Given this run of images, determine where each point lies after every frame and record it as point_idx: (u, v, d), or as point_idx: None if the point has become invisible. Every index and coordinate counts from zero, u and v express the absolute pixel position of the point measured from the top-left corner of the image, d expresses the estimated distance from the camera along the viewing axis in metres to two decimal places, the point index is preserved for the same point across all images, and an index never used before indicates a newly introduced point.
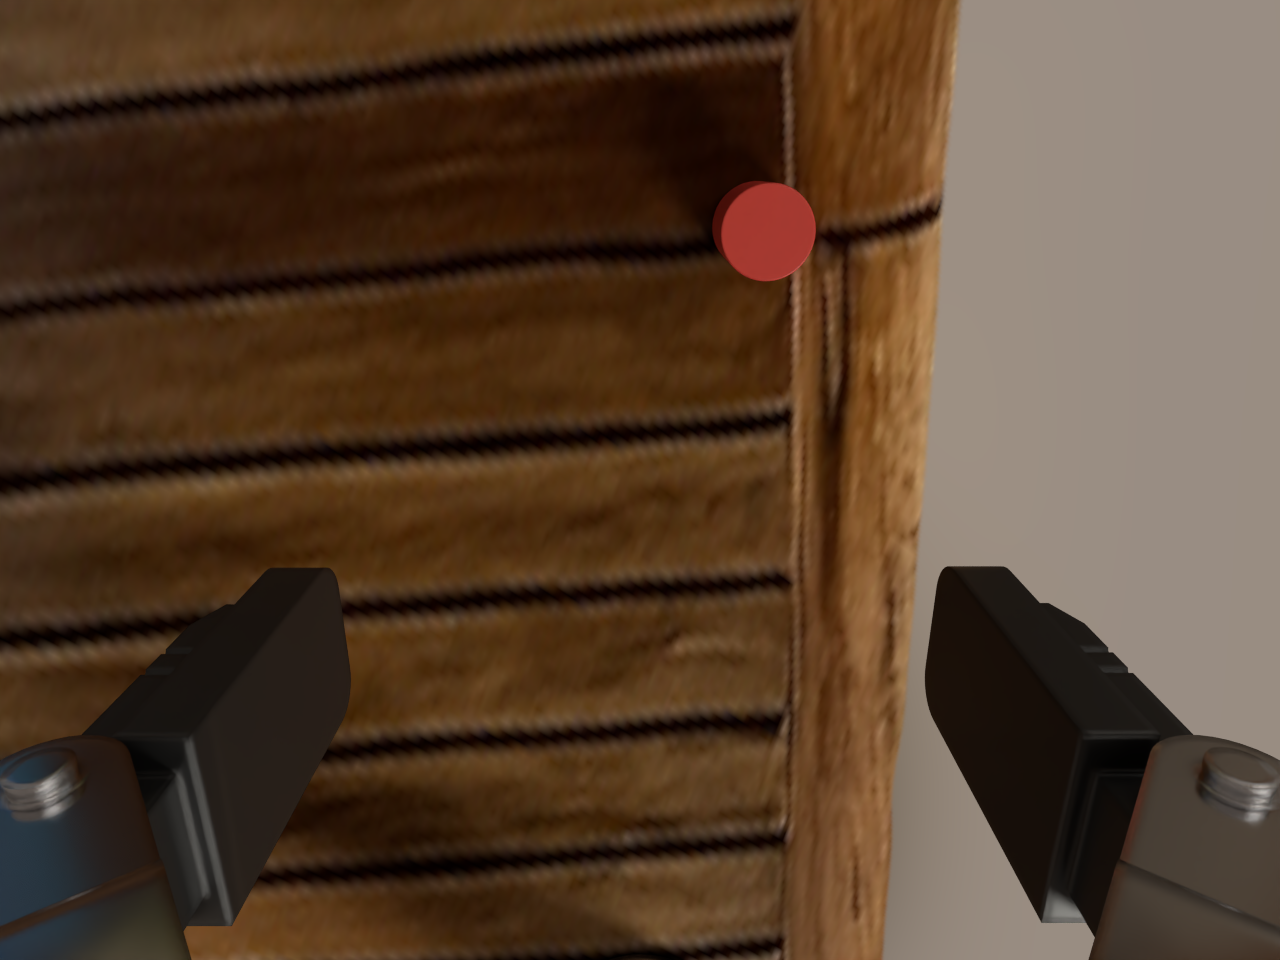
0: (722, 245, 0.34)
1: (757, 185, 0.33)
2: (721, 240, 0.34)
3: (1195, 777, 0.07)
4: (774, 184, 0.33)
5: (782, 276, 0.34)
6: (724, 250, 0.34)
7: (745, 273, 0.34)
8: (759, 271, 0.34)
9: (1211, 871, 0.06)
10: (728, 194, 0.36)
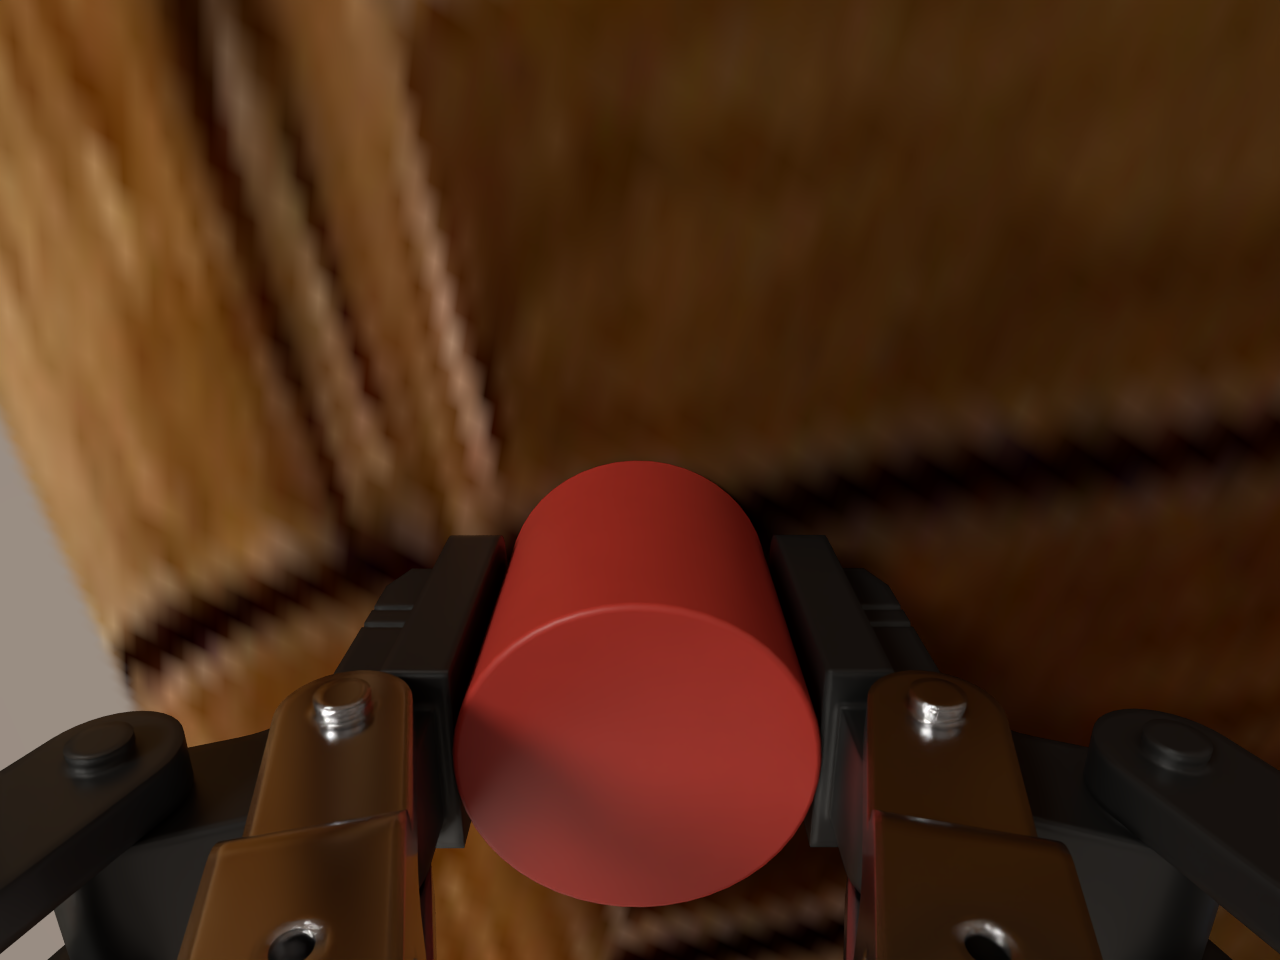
0: (810, 708, 0.08)
1: (700, 892, 0.09)
2: (815, 722, 0.08)
3: (901, 704, 0.08)
4: None
5: (548, 630, 0.08)
6: (803, 697, 0.08)
7: (707, 628, 0.08)
8: (650, 641, 0.08)
9: (937, 794, 0.07)
10: None
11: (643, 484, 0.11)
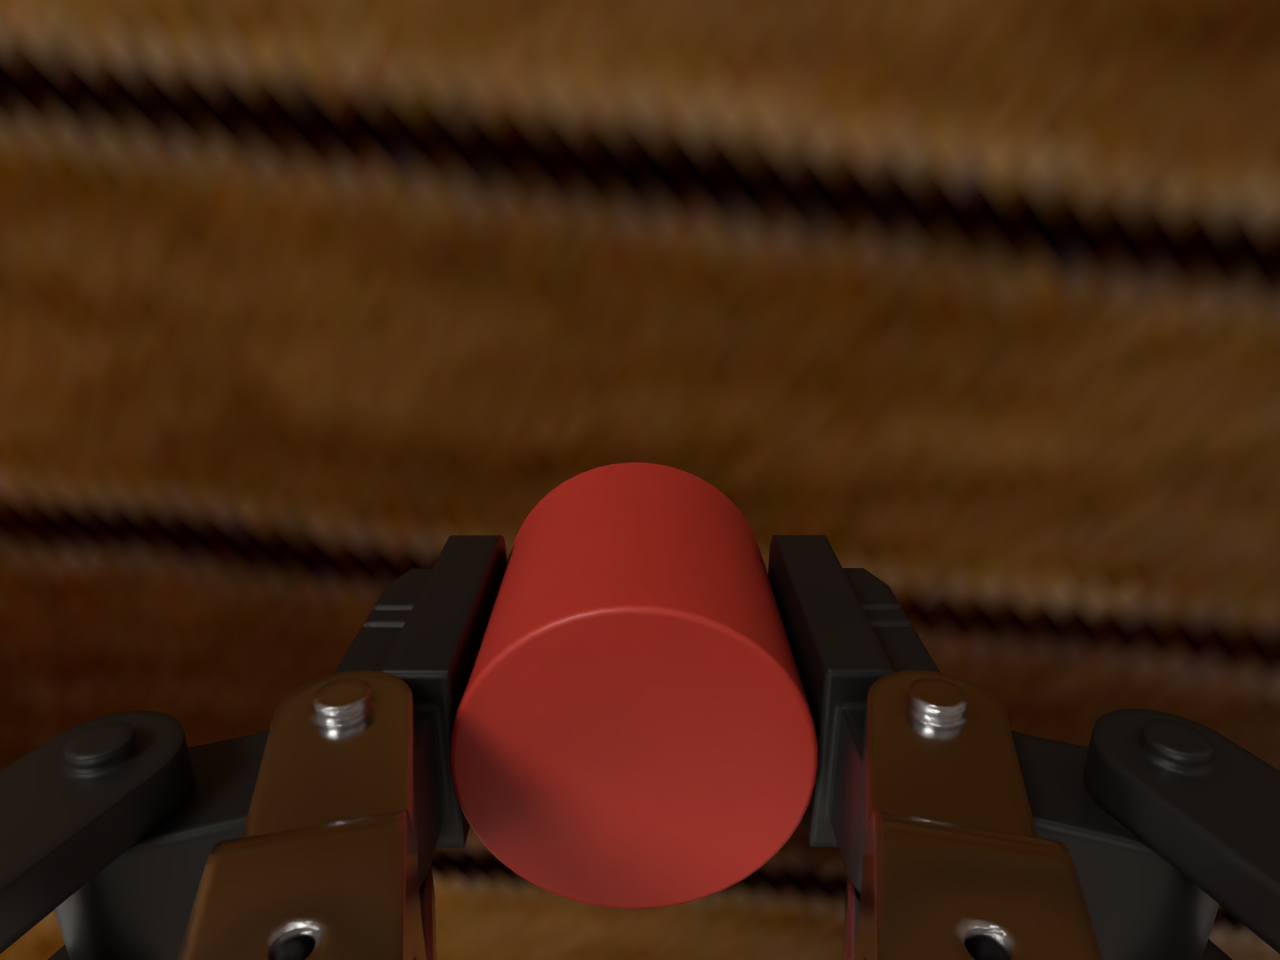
0: (807, 710, 0.08)
1: (697, 894, 0.09)
2: (811, 724, 0.09)
3: (902, 704, 0.08)
4: None
5: (545, 632, 0.08)
6: (799, 699, 0.08)
7: (704, 630, 0.08)
8: (647, 644, 0.08)
9: (937, 794, 0.07)
10: None
11: (640, 486, 0.11)
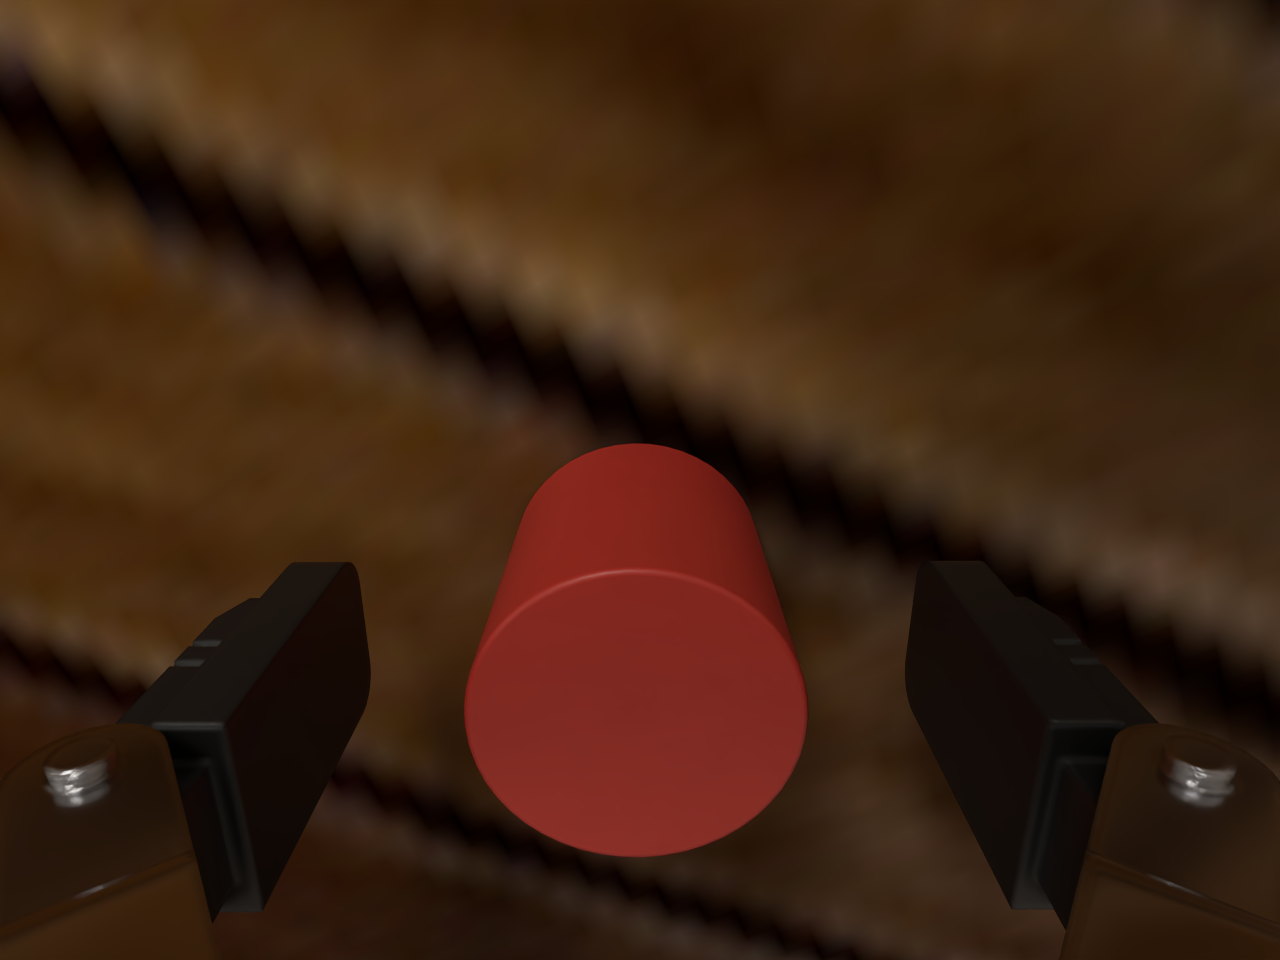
0: (797, 667, 0.09)
1: (695, 843, 0.10)
2: (801, 681, 0.09)
3: (1156, 763, 0.07)
4: None
5: (554, 593, 0.09)
6: (790, 656, 0.09)
7: (701, 591, 0.09)
8: (647, 603, 0.09)
9: (1175, 857, 0.06)
10: None
11: (641, 464, 0.12)
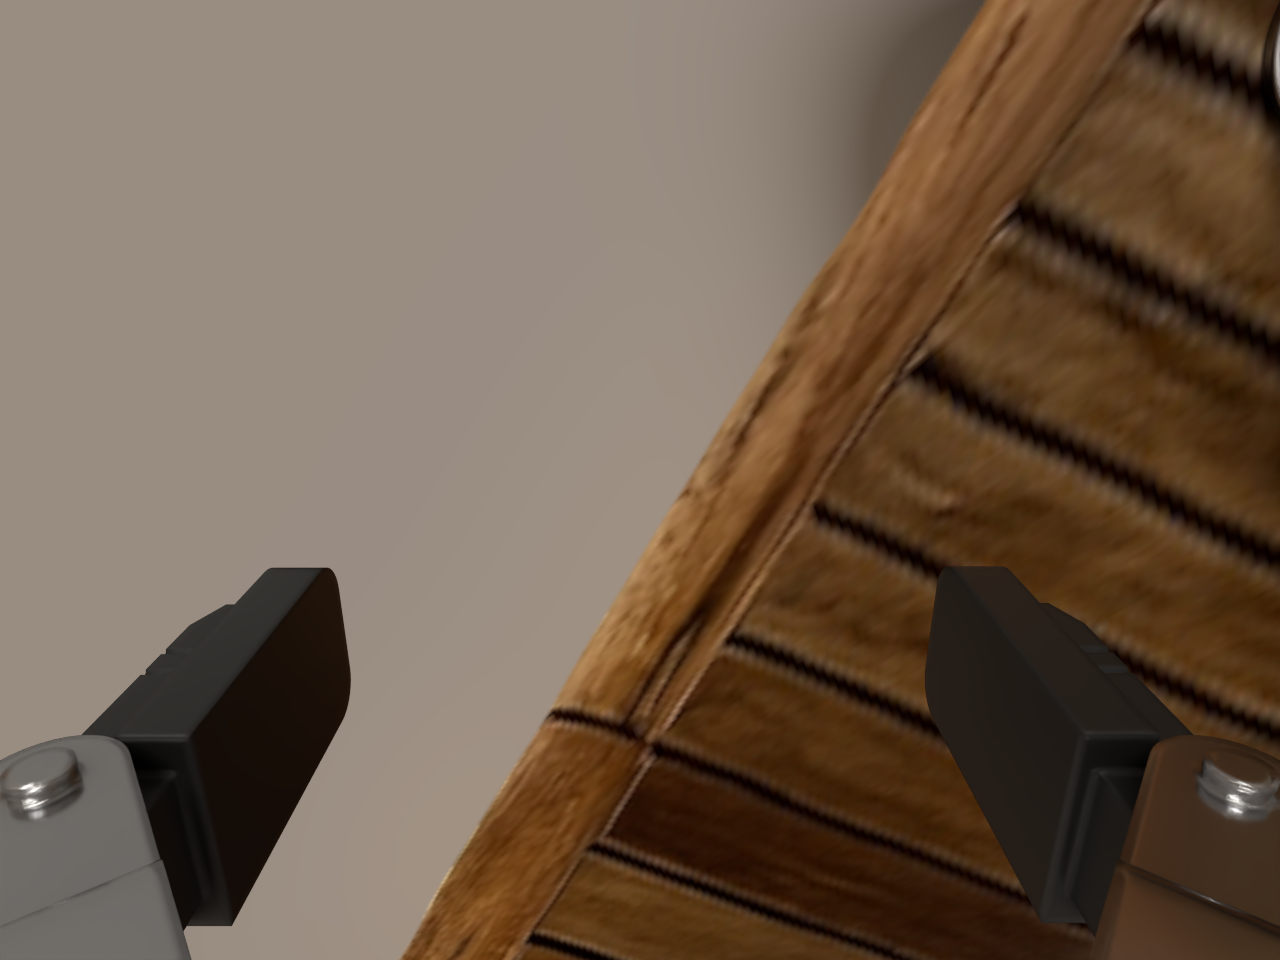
0: None
1: None
2: None
3: (1195, 777, 0.07)
4: None
5: None
6: None
7: None
8: None
9: (1211, 871, 0.06)
10: None
11: None
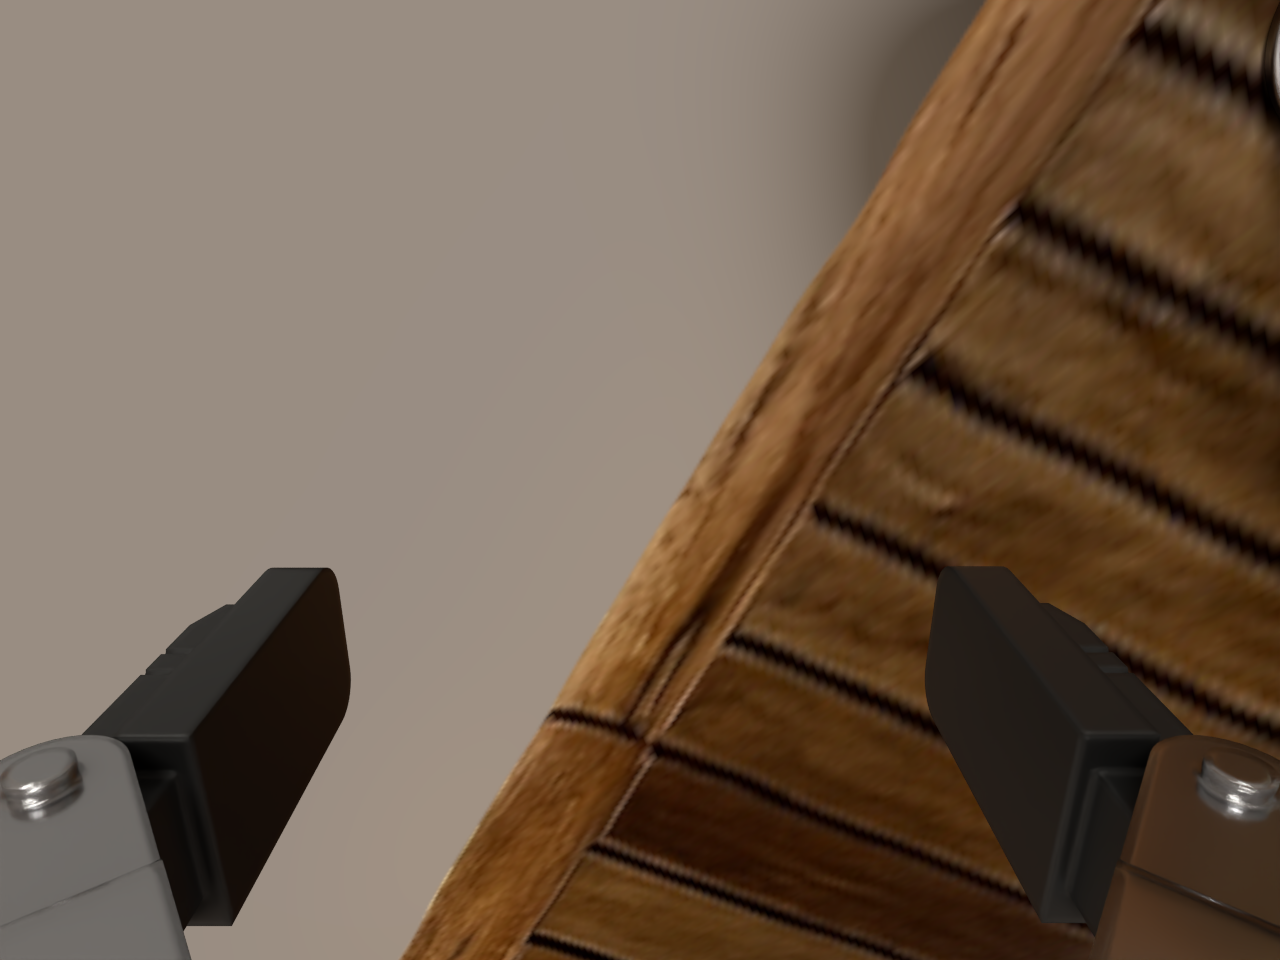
0: None
1: None
2: None
3: (1195, 777, 0.07)
4: None
5: None
6: None
7: None
8: None
9: (1211, 871, 0.06)
10: None
11: None
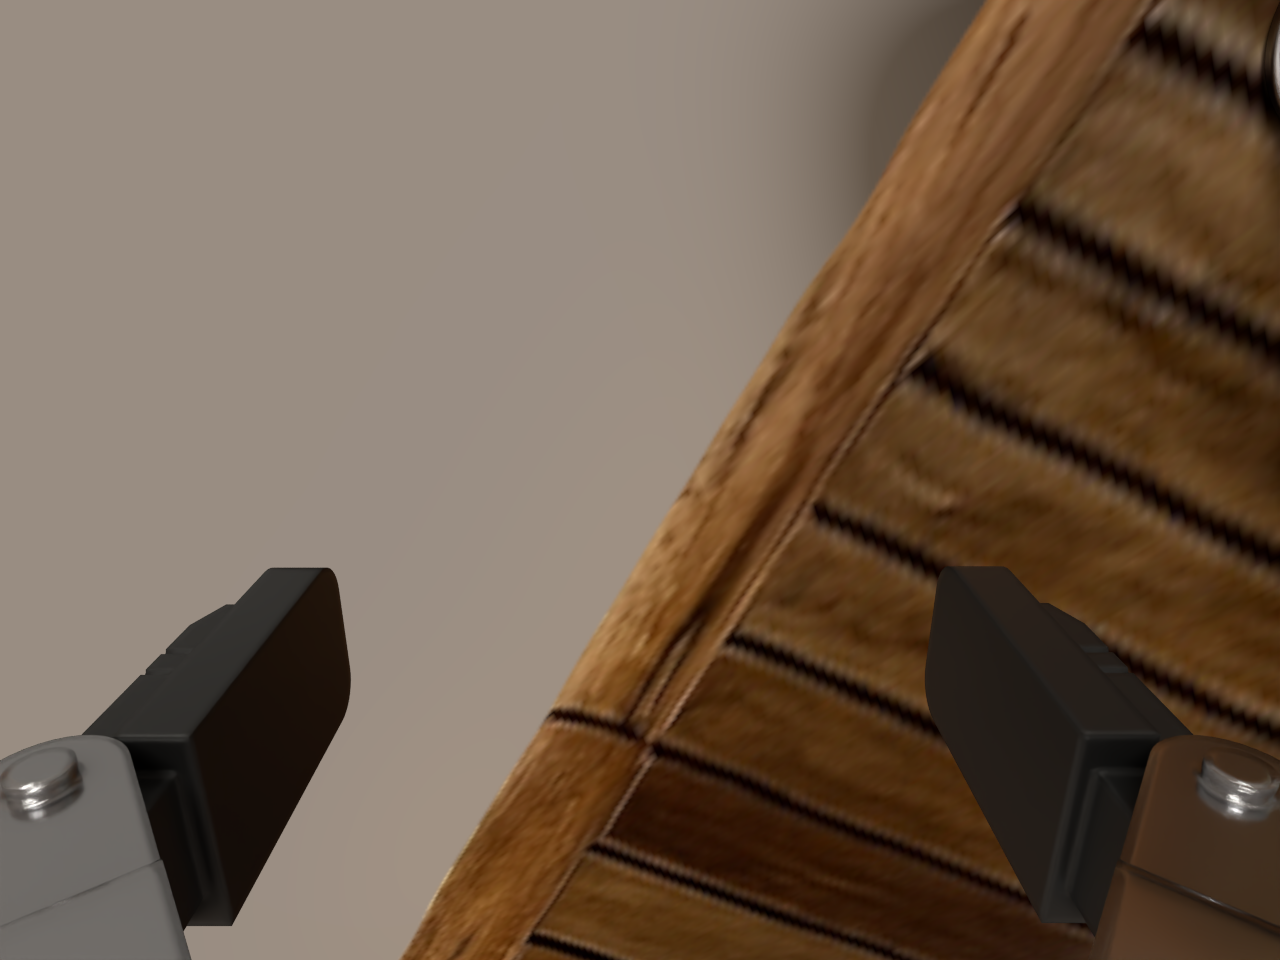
0: None
1: None
2: None
3: (1195, 777, 0.07)
4: None
5: None
6: None
7: None
8: None
9: (1211, 871, 0.06)
10: None
11: None
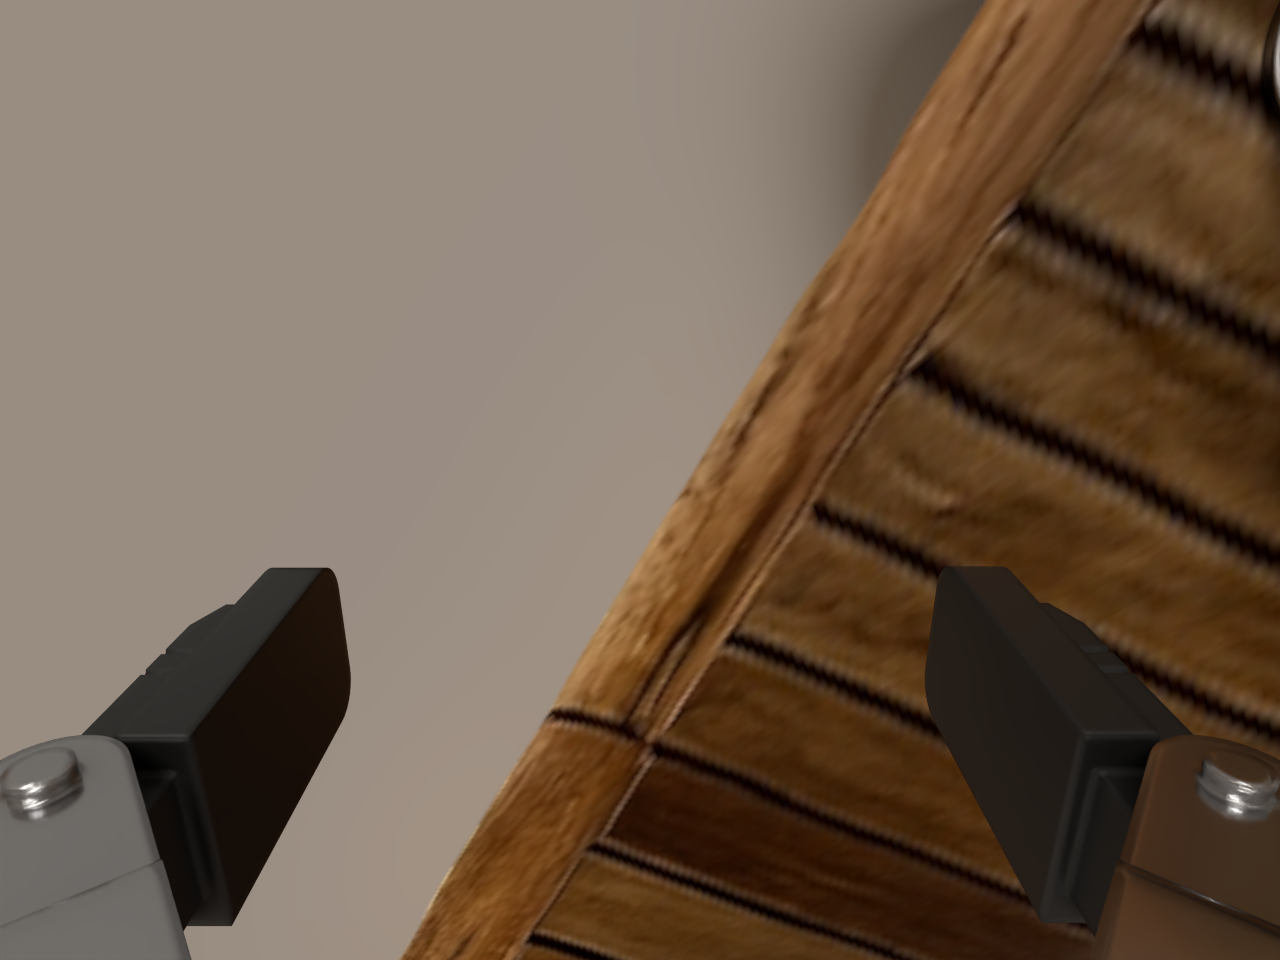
0: None
1: None
2: None
3: (1195, 777, 0.07)
4: None
5: None
6: None
7: None
8: None
9: (1211, 871, 0.06)
10: None
11: None
